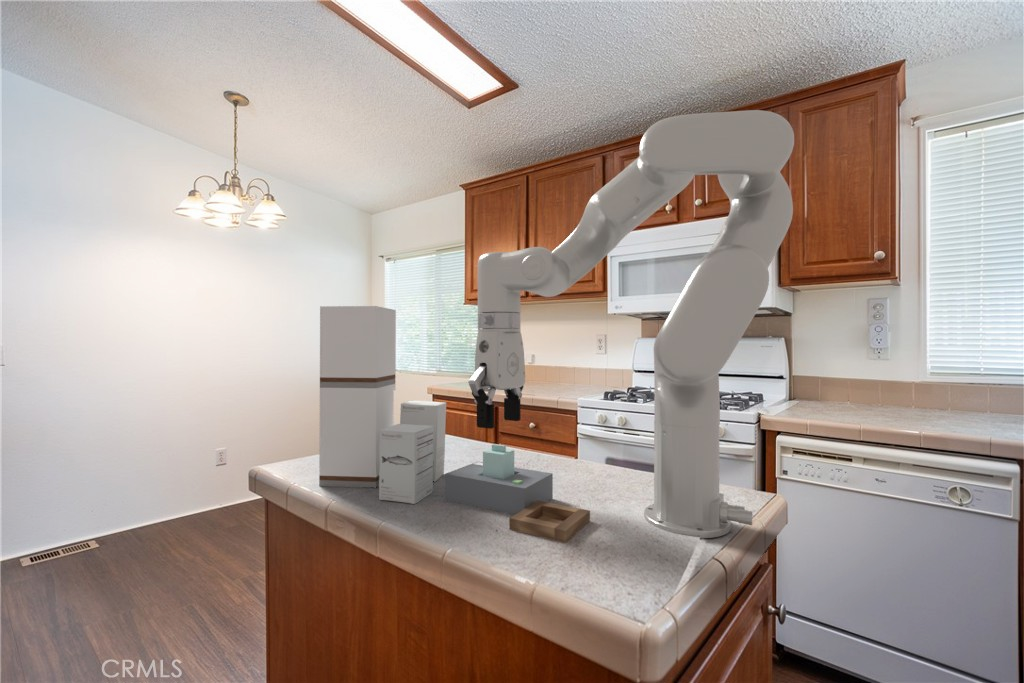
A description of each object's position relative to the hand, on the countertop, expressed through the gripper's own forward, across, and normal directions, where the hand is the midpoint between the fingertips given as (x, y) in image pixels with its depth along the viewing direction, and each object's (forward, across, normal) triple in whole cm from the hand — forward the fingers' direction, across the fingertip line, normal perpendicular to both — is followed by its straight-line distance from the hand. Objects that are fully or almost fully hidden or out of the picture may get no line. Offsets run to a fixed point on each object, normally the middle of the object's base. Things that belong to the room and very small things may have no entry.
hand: (499, 423), depth 82 cm
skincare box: (+14, +5, +22) cm, 27 cm away
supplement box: (+14, -6, +16) cm, 22 cm away
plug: (+13, 0, 0) cm, 13 cm away
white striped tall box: (+14, -3, +32) cm, 35 cm away
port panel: (+14, 0, 0) cm, 14 cm away
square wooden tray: (+14, -6, -13) cm, 20 cm away
